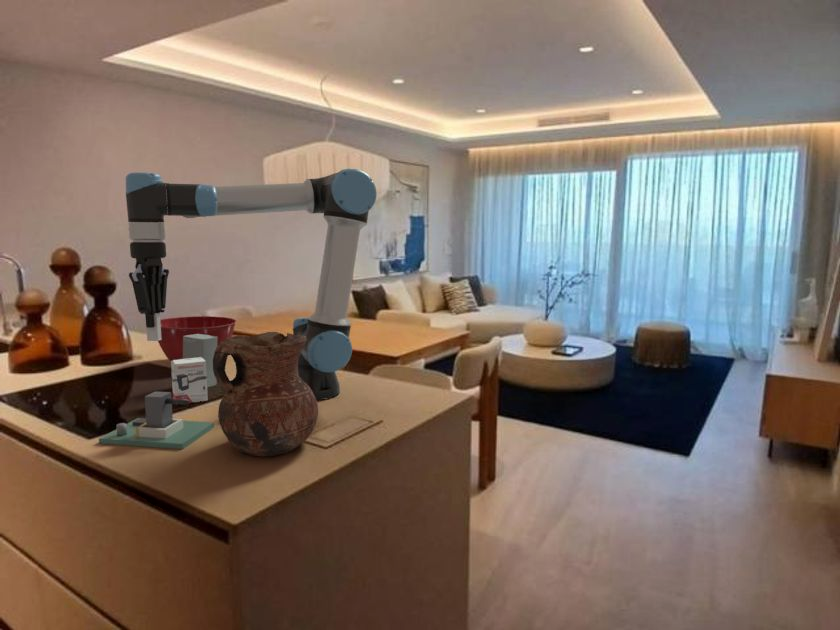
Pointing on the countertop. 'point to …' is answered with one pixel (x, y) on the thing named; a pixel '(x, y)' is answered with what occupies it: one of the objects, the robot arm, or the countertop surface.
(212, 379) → the skincare box
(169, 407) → the grey handled block
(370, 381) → the countertop surface
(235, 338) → the jug
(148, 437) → the board
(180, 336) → the mixing bowl
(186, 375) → the ink box
